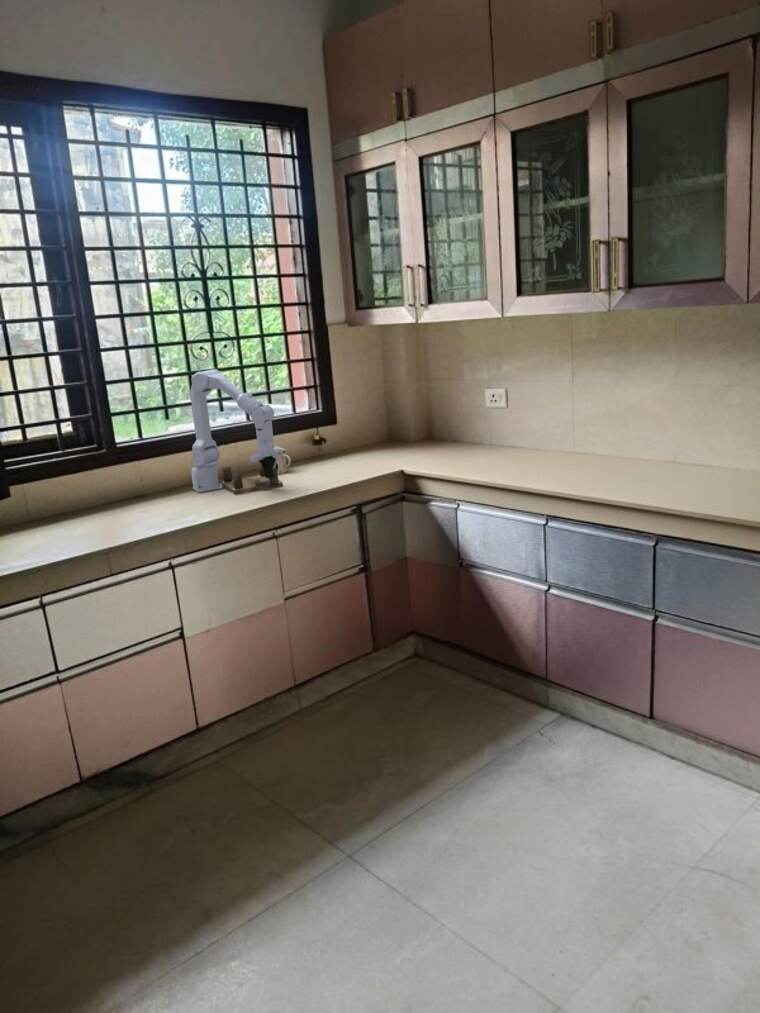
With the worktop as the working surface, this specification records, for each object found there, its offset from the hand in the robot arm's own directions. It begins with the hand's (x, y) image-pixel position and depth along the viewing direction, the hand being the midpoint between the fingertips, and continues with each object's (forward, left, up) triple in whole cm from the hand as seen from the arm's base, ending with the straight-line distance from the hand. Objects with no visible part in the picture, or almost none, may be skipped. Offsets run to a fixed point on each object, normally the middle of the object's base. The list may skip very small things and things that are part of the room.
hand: (269, 477), depth 277 cm
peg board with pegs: (-3, +13, -5) cm, 14 cm away
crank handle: (0, +3, -3) cm, 4 cm away
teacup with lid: (+13, +29, -5) cm, 32 cm away
